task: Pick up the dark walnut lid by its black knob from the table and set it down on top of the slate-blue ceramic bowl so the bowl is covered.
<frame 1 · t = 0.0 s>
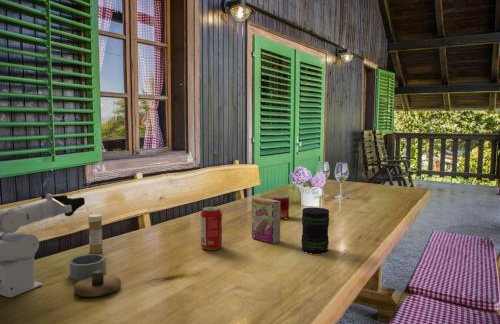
hand: (75, 199, 125), 22 cm above the table, tool horizontal, fingers open, 7 cm apart
lid: (98, 290, 109), on the table
candy bar box: (265, 241, 156), on the table
sprinkles bottle: (96, 252, 141), on the table
soda can: (211, 248, 146), on the table
canned food: (280, 218, 194), on the table
storage jar: (314, 250, 144), on the table
bowl: (87, 273, 120), on the table
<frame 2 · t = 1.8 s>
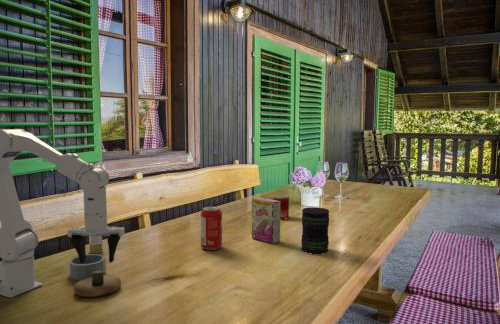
hand: (97, 261, 108), 8 cm above the table, tool pointing down, fingers open, 7 cm apart
nothing on the table moved.
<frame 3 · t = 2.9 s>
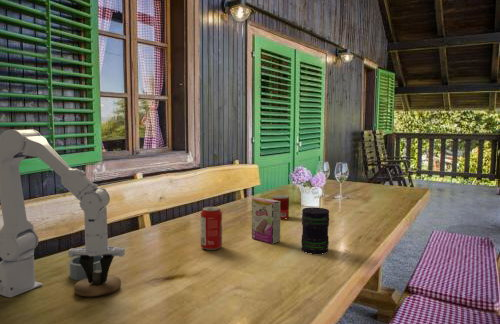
hand: (97, 281, 109), 2 cm above the table, tool pointing down, fingers closed on lid, 3 cm apart
lid: (98, 289, 109), on the table, touching gripper
everything else where it was.
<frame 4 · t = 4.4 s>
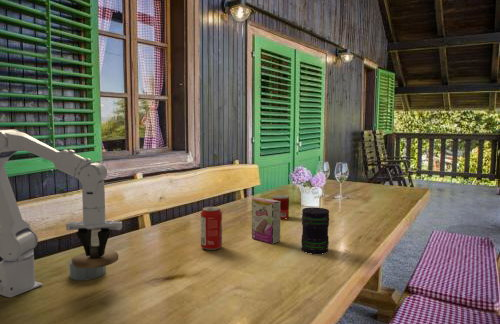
hand: (95, 255, 109), 9 cm above the table, tool pointing down, fingers closed on lid, 3 cm apart
lid: (95, 263, 110), point 7 cm above the table, touching gripper
everything else where it was.
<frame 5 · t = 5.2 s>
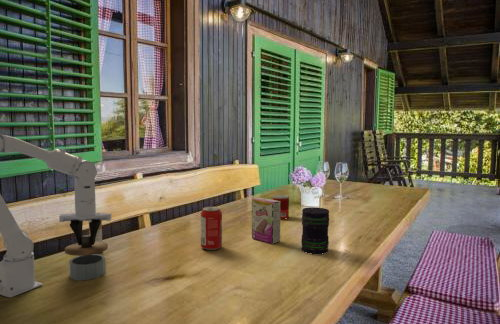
hand: (86, 244, 120), 9 cm above the table, tool pointing down, fingers closed on lid, 3 cm apart
lid: (86, 252, 119), point 7 cm above the table, touching gripper
everything else where it was.
when the fingers open (7 cm above the table, at t = 5.9 s): lid drops 1 cm, resting on bowl.
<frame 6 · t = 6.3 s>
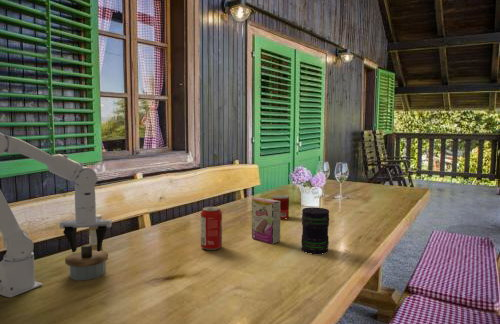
hand: (86, 250, 120), 7 cm above the table, tool pointing down, fingers open, 7 cm apart
lid: (87, 262, 120), point 4 cm above the table, touching bowl
bowl: (87, 273, 120), on the table, touching lid
everything else where it was.
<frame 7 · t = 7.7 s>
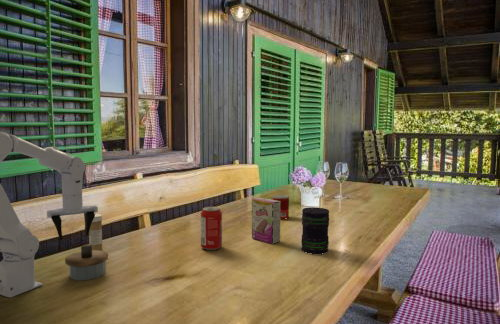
hand: (73, 237, 125), 10 cm above the table, tool pointing down, fingers open, 7 cm apart
nothing on the table moved.
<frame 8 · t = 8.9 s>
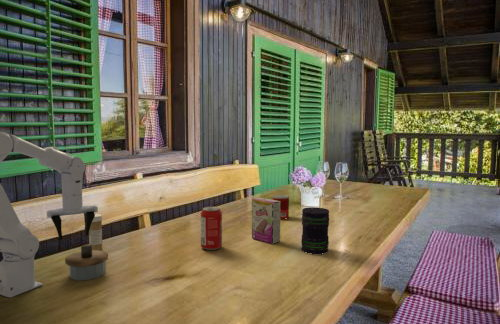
hand: (73, 237, 125), 10 cm above the table, tool pointing down, fingers open, 7 cm apart
nothing on the table moved.
at the end: lid 0.2 cm off-centre on the bowl, point 3.7 cm above the bowl's base; the gripper is holding nothing; bowl tilted 0° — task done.
